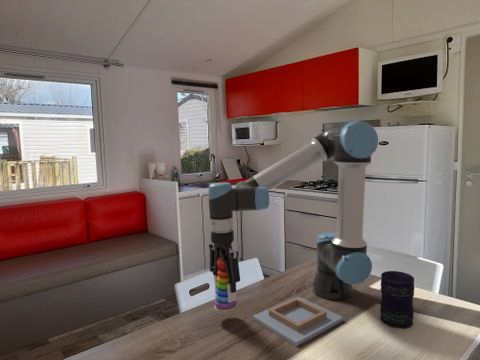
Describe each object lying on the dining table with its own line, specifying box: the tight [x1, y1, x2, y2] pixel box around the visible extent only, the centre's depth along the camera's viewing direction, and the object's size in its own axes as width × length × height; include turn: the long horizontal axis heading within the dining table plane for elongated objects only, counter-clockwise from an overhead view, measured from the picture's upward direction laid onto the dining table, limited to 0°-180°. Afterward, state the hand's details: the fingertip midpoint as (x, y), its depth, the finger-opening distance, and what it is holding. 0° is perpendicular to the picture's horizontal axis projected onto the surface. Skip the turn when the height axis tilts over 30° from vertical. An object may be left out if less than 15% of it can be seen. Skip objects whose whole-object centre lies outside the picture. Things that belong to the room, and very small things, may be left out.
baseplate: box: [252, 296, 344, 347], centre depth 115 cm, size 22×20×3 cm
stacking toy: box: [213, 258, 239, 315], centre depth 116 cm, size 8×8×19 cm
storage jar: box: [379, 270, 415, 330], centre depth 112 cm, size 10×10×15 cm
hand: (225, 296), depth 116 cm, fingers closed on stacking toy, 7 cm apart
